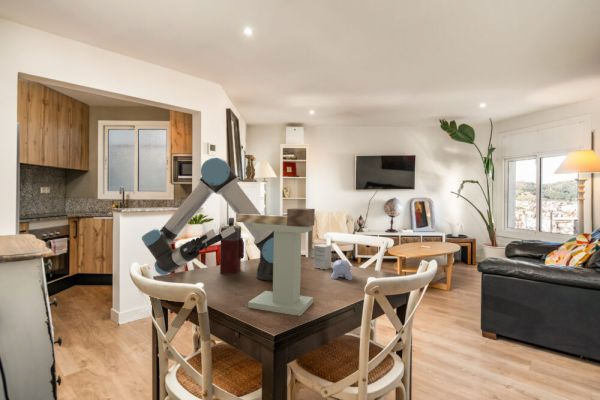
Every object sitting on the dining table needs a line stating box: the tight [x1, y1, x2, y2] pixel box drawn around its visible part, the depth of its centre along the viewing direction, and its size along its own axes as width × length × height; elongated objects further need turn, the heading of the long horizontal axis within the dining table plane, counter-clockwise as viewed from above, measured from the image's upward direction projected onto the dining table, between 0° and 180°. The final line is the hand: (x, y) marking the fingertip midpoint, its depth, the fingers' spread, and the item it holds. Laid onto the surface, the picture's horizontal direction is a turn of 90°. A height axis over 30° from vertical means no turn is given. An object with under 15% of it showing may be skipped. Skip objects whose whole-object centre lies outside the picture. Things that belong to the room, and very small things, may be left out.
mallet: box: [235, 207, 315, 227], centre depth 117 cm, size 30×7×6 cm, turn 70°
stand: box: [247, 223, 314, 317], centre depth 116 cm, size 20×14×30 cm
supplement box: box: [313, 243, 332, 270], centre depth 176 cm, size 7×7×13 cm
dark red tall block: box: [219, 217, 245, 275], centre depth 163 cm, size 9×11×28 cm
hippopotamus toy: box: [330, 259, 354, 281], centre depth 158 cm, size 11×15×10 cm
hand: (224, 230), depth 125 cm, fingers open, 13 cm apart
